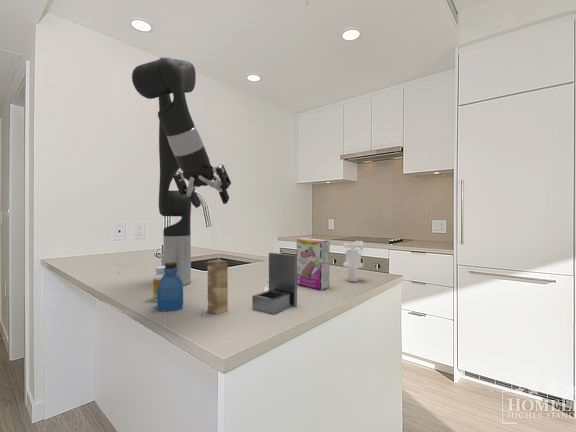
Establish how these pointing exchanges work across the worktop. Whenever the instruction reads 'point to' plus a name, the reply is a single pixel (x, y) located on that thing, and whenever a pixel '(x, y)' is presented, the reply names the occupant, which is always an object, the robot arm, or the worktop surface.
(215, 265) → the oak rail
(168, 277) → the perfume bottle
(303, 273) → the candy bar box
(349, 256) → the white upright piece
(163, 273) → the supplement bottle
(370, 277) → the worktop surface
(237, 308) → the worktop surface
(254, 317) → the worktop surface
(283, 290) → the grey holder with backboard
